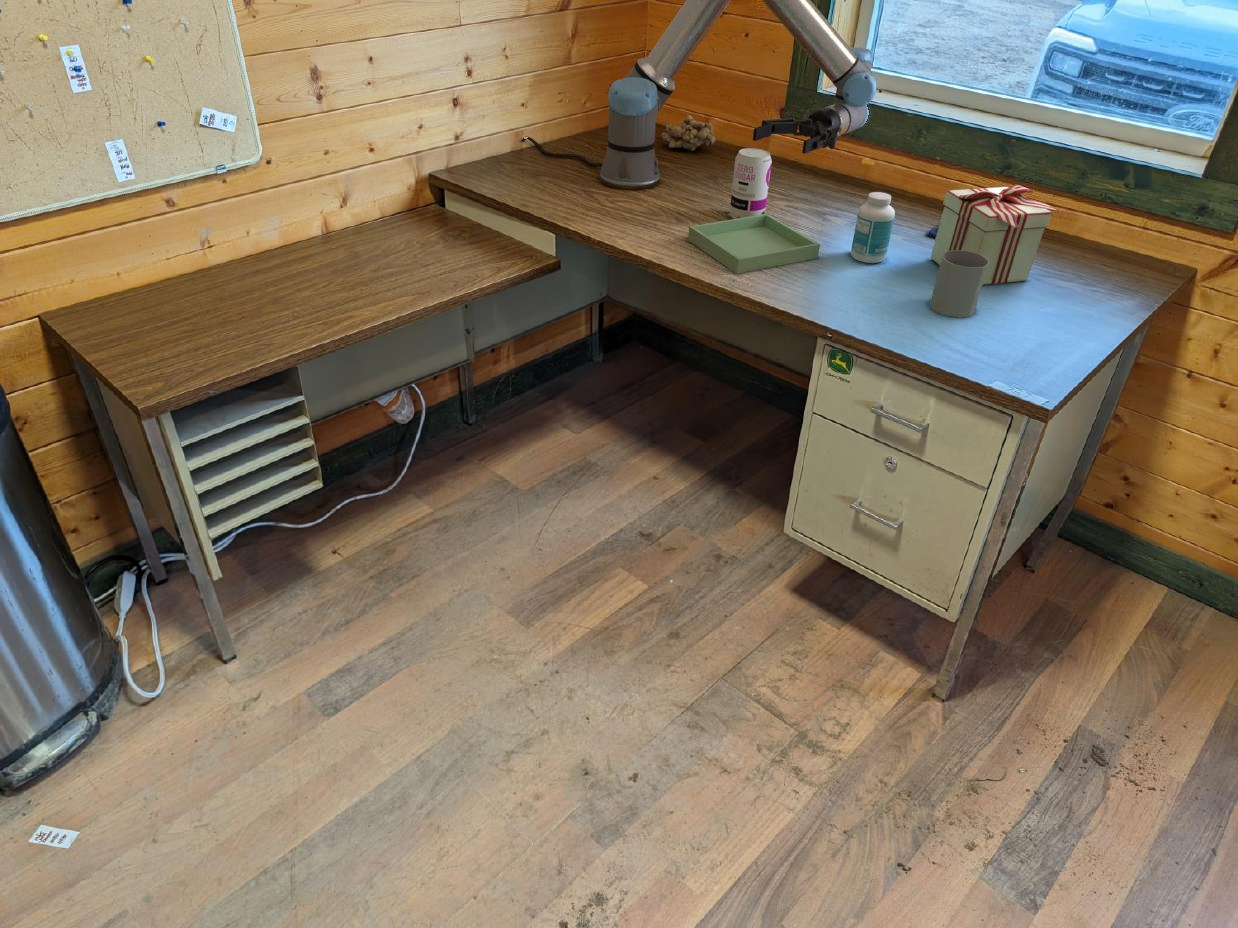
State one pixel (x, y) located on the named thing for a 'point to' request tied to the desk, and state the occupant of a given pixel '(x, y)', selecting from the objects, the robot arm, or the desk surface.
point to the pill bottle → (873, 229)
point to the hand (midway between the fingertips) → (778, 141)
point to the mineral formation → (689, 134)
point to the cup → (958, 283)
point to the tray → (753, 243)
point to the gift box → (994, 229)
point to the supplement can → (750, 183)
